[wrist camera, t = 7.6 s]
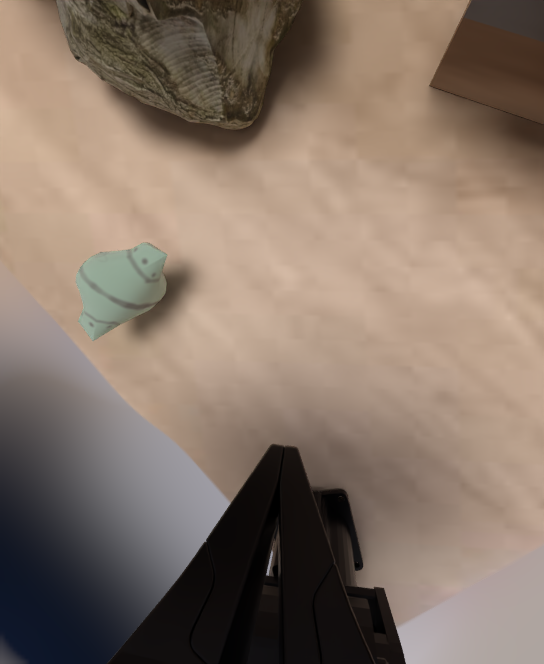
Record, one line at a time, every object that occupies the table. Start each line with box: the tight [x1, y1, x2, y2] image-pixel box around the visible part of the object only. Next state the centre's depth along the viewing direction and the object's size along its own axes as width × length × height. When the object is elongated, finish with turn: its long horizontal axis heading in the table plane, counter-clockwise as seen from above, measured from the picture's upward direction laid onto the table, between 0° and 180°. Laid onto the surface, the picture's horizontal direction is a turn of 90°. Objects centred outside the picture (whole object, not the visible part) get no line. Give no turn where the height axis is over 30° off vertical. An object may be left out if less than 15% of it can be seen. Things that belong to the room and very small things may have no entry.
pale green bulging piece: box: [76, 243, 167, 341], centre depth 20 cm, size 8×4×7 cm, turn 134°
